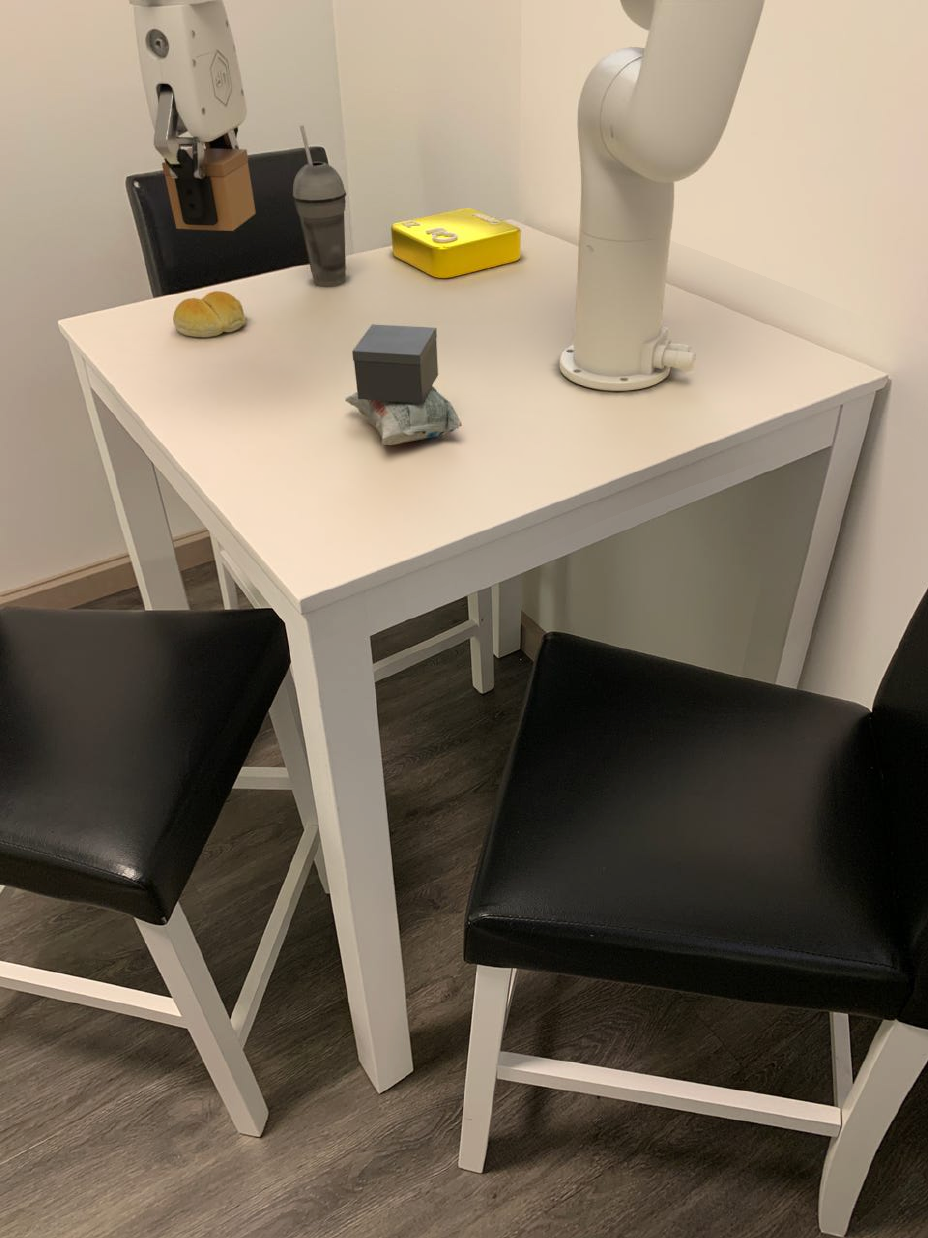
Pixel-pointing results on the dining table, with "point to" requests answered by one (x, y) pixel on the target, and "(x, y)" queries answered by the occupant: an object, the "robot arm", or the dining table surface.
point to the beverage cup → (322, 219)
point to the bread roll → (209, 315)
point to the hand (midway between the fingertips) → (215, 211)
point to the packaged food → (409, 417)
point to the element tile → (456, 242)
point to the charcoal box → (396, 363)
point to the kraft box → (221, 189)
